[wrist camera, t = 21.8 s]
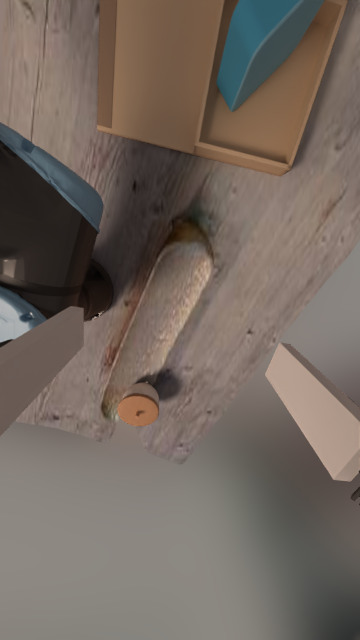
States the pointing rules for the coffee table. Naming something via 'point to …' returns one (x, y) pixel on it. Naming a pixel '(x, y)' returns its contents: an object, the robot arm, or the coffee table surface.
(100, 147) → the coffee table surface
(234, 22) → the data package
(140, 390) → the lidded jar
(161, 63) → the mailer box
